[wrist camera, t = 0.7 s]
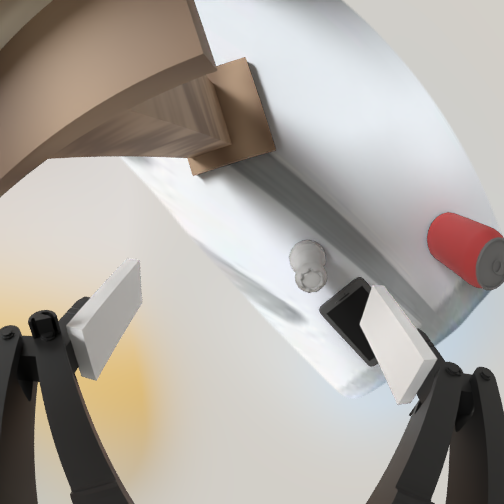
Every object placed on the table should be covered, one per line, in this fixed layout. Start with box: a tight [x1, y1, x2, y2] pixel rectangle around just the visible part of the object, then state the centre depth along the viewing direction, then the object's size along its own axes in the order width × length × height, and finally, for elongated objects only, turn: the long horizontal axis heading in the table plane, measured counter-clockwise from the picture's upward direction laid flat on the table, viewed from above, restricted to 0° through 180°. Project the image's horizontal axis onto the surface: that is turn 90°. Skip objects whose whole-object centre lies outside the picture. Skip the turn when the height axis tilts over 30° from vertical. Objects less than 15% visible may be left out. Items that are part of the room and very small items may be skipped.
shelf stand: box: [0, 0, 276, 197], centre depth 18 cm, size 10×12×30 cm
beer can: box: [427, 212, 504, 290], centre depth 27 cm, size 7×7×12 cm
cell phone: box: [319, 277, 378, 367], centre depth 37 cm, size 7×14×1 cm, turn 44°
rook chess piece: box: [289, 240, 327, 293], centre depth 32 cm, size 4×4×8 cm
